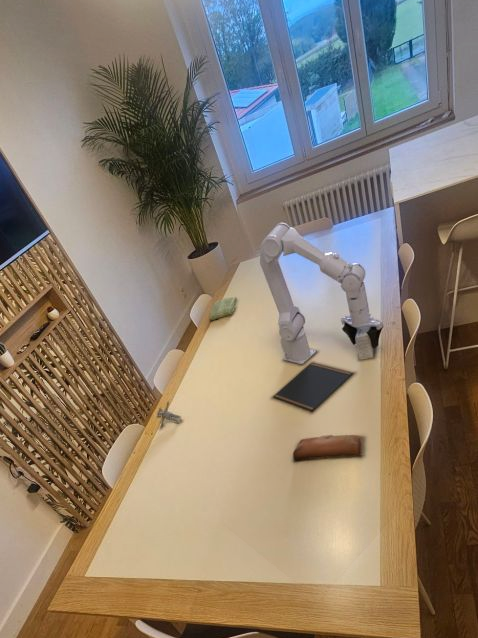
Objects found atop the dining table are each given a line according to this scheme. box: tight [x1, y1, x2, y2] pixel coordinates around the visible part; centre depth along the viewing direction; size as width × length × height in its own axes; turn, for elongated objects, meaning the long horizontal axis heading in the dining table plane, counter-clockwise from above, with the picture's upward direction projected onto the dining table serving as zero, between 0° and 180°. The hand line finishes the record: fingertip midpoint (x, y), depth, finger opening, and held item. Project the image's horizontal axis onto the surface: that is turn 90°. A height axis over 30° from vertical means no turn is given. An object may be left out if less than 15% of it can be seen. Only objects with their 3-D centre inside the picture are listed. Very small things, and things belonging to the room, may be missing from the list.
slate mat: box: [272, 362, 354, 413], centre depth 136 cm, size 18×20×1 cm
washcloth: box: [209, 296, 238, 321], centre depth 204 cm, size 13×18×3 cm
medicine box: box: [355, 327, 375, 360], centre depth 135 cm, size 8×4×9 cm, turn 162°
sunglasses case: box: [292, 434, 363, 461], centre depth 112 cm, size 18×7×7 cm
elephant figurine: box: [156, 401, 182, 429], centre depth 150 cm, size 10×6×9 cm
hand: (365, 345), depth 135 cm, fingers closed on medicine box, 7 cm apart
